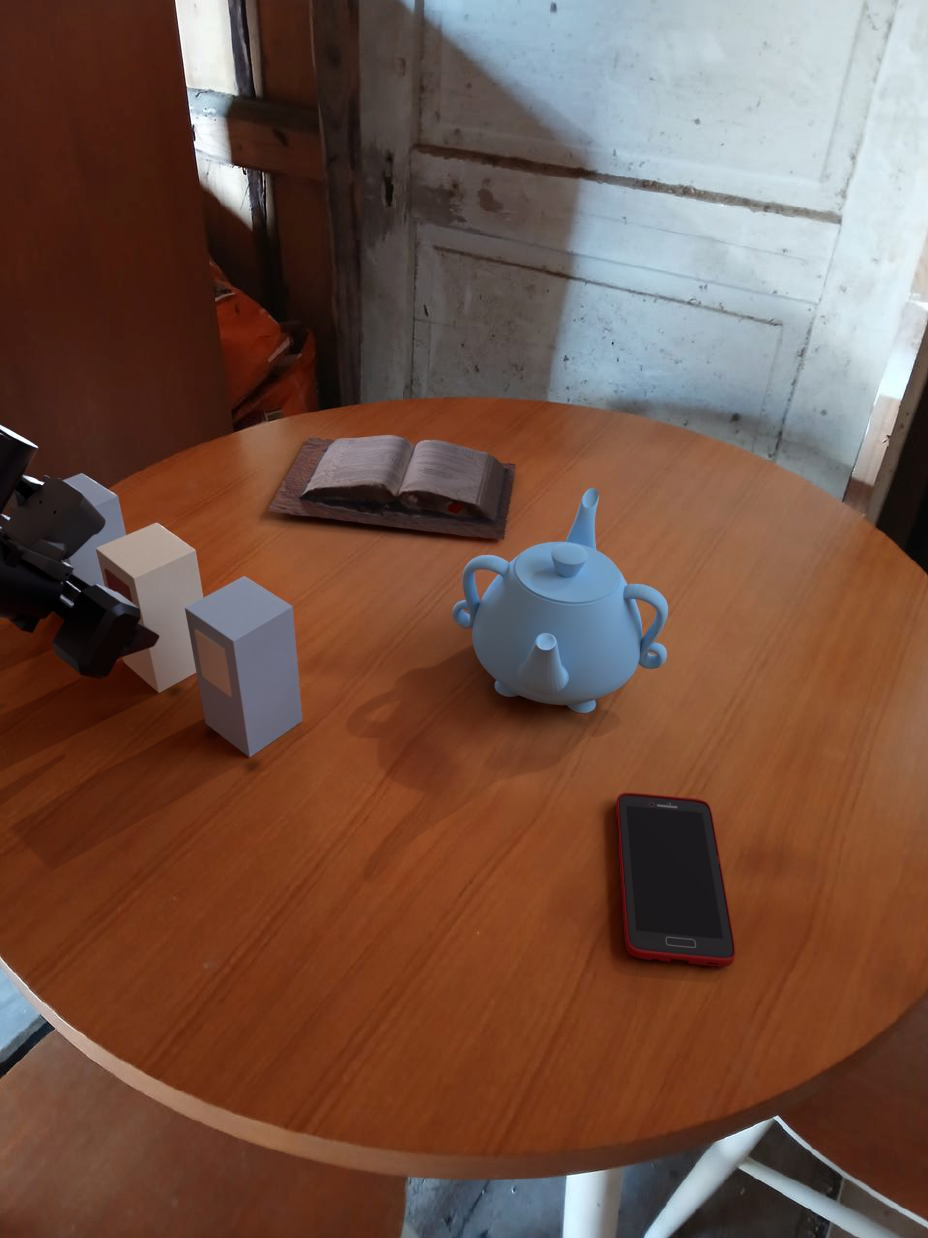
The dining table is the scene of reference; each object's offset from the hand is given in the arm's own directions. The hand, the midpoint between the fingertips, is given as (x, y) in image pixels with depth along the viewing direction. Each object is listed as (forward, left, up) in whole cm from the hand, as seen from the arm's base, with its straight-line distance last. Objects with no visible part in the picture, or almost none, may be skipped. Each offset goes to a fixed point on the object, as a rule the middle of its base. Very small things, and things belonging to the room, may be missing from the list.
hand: (124, 617), depth 79 cm
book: (+35, +24, -8) cm, 43 cm away
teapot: (+36, -13, -8) cm, 39 cm away
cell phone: (+33, -37, -7) cm, 51 cm away
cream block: (+3, +1, -7) cm, 8 cm away
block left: (-2, +12, -7) cm, 14 cm away
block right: (+8, -9, -7) cm, 15 cm away
